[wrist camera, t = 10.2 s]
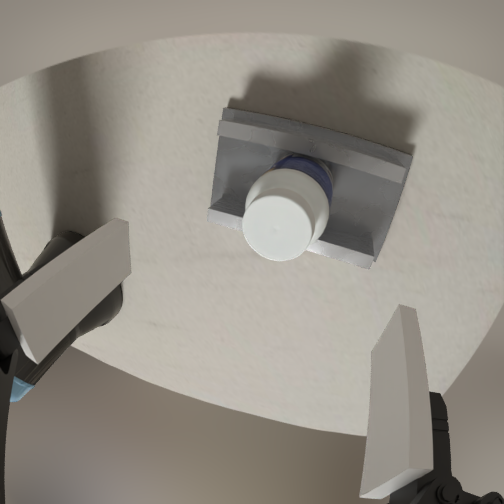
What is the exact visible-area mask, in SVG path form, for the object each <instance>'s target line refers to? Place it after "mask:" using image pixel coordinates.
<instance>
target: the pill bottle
mask: <svg viewBox="0 0 504 504" xmlns="http://www.w3.org/2000/svg"><path fill="white" fill-rule="evenodd" d="M332 195H333V178H332V175H331V172H330V170H329V169H328V167H327V166H326V165H325V164H324V163H323V162H322V161H321V160H320V159H318V158H316V157H312V156H309V155H305V154H301V153H294V154H290V155H287V156H285V157H283V158H282V159H280V160H279V161H278V162H277V163H275V164H274V165H273V166H272V167H271V168H270V169H269V170H267V171H266V172H265V173H264V174H263V175H262V176H261V177H260V178H258V179H257V181H256V182H255V183H254V184H253V185H252V187H251V189H250V190H249V193H248V195H247V198H246V205H245V213H244V216H243V220H242V229H243V233H244V236H245V239H246V241H247V242H248V244H249V245H250V247H251V248H252V249H253V250H254V251H255V252H257V253H258V254H259V255H261V256H263V257H265V258H267V259H270V260H275V261H287V260H291V259H294V258H296V257H298V256H299V255H301V254H302V253H303V252H304V251H305V250H306V249H307V247H308V246H309V245H311V244H313V243H314V242H315V241H316V240H317V239H318V238H319V237H320V236H321V235H322V233H323V231H324V229H325V227H326V225H327V222H328V218H329V213H330V207H331V201H332Z"/></svg>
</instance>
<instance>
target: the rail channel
mask: <svg viewBox="0 0 504 504" xmlns="http://www.w3.org/2000/svg"><path fill="white" fill-rule="evenodd" d="M217 135H219V142H218V150H217V157H216V165H215V173H214V181H213V189H212V198H211V207H209V208H208V215H207V222H211V223H215V224H218V225H222V226H225V227H229V228H232V229H235V230H239V231H242V232H243V229H242V220H243V216H244V213H245V205H246V198H247V195H248V193H249V190H250V189H251V187H252V185H253V184H254V183H255V182H256V181H257V179H258V178H260V177H261V176H262V175H263V174H264V173H265V172H266V171H267V170H269V169H270V168H271V167H272V166H273V165H274V164H275V163H277V162H278V161H279V160H280V159H282V158H283V157H285V156H287V155H290V154H294V153H301V154H305V155H309V156H312V157H316V158H318V159H320V160H321V161H322V162H323V163H324V164H325V165H326V166H327V167H328V169H329V170H330V172H331V175H332V178H333V195H332V201H331V207H330V213H329V218H328V222H327V225H326V227H325V229H324V231H323V233H322V235H321V236H320V237H319V238H318V239H317V240H316V241H315V242H314V243H313V244H311V245H309V246H308V247H307V249H306V250H307V251H310V252H314V253H317V254H320V255H324V256H327V257H330V258H334V259H337V260H340V261H343V262H347V263H350V264H353V265H356V266H360V267H363V268H366V269H370V267H371V264H372V262H373V261H374V262H376V260H377V257H378V255H379V252H380V250H381V247H382V245H383V242H384V240H385V237H386V235H387V232H388V229H389V227H390V224H391V221H392V219H393V216H394V213H395V210H396V207H397V205H398V202H399V199H400V196H401V193H402V190H403V187H404V184H405V181H406V178H407V175H408V172H409V168H410V165H411V162H412V158H413V156H412V155H410V154H407V153H404V152H401V151H399V150H396V149H393V148H390V147H387V146H384V145H381V144H378V143H375V142H372V141H369V140H366V139H362V138H359V137H356V136H352V135H349V134H346V133H342V132H339V131H335V130H331V129H328V128H324V127H320V126H316V125H312V124H308V123H304V122H300V121H295V120H291V119H286V118H282V117H277V116H272V115H267V114H262V113H257V112H251V111H245V110H240V109H233V108H223V114H222V120H219V126H218V133H217Z"/></svg>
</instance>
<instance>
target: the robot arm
mask: <svg viewBox="0 0 504 504" xmlns="http://www.w3.org/2000/svg"><path fill="white" fill-rule="evenodd" d="M1 216H2V213H1V210H0V504H5V489H4V466H5V463H4V462H5V444H6V430H7V421H8V412H9V405H10V402H17V401H18V400H20V399H21V398H22V397H23V396H24V395H25V394H26V393H27V392H28V391H29V390H30V389H33V388H34V387H35V384H36V383H37V382H38V381H39V380H40V378H41V377H42V376H43V375H44V374H45V372H46V371H47V370H48V369H49V368H50V367H51V366H52V365H53V364H54V362H55V361H56V360H57V359H58V358H59V357H60V356H61V355H62V354H63V353H64V352H65V350H66V349H67V348H68V347H69V346H70V345H71V344H72V343H73V342H74V341H75V340H76V339H77V338H78V337H80V336H82V335H84V334H86V333H88V332H90V331H91V330H93V329H95V328H97V327H100V326H103V325H106V324H107V323H109V322H110V321H111V320H112V319H113V318H114V317H115V316H116V315H117V314H118V313H119V311H120V309H121V306H122V294H121V289H120V285H119V284H120V283H121V282H122V281H123V280H124V279H125V278H126V277H127V276H128V275H130V274H131V262H130V246H129V223H128V221H125V220H121V219H118V218H114V219H112V220H111V221H109V222H108V223H106V224H105V225H103V226H102V227H100V228H98V229H97V230H95V231H94V232H92V233H91V234H89V235H88V236H86V237H83V236H81V235H79V234H77V233H74V232H63V233H61V234H59V235H58V236H56V237H54V238H53V239H51V240H50V241H49V242H48V243H47V245H46V246H45V248H44V250H43V251H42V253H41V254H40V255H39V256H38V258H37V259H36V260H35V262H34V263H33V265H32V266H31V267H30V269H29V270H28V271H27V272H26V273H24V274H23V275H22V274H21V271H20V269H19V266H18V264H17V261H16V258H15V256H14V253H13V250H12V248H11V245H10V242H9V239H8V236H7V233H6V230H5V227H4V224H3V220H2V217H1ZM447 420H448V417H447V409H446V405H445V403H444V401H443V398H442V396H441V394H440V393H435V392H429V387H428V379H427V371H426V364H425V357H424V351H423V345H422V339H421V334H420V328H419V323H418V318H417V313H416V309H414V308H410V307H407V306H404V305H400V304H399V305H398V307H397V309H396V311H395V312H394V314H393V316H392V318H391V320H390V321H389V323H388V325H387V327H386V328H385V330H384V332H383V333H382V335H381V337H380V339H379V340H378V342H377V343H376V345H375V347H374V348H373V350H372V352H371V386H370V405H369V420H368V432H367V442H366V452H365V460H364V468H363V475H362V482H361V489H360V495H359V497H362V498H373V499H382V498H384V497H386V496H388V495H390V501H389V503H388V504H504V499H503V498H502V496H501V495H500V494H499V493H497V492H490V493H488V494H486V495H484V496H482V497H478V496H476V495H473V494H470V493H467V492H465V491H463V490H462V487H461V484H460V482H459V481H458V480H457V479H456V478H455V477H453V476H452V473H451V454H450V439H449V433H448V431H449V426H448V422H447Z"/></svg>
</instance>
